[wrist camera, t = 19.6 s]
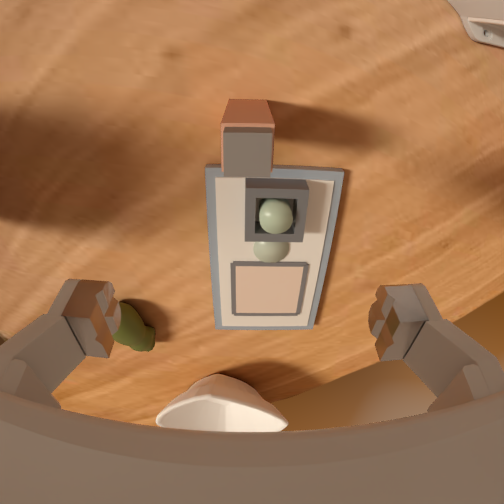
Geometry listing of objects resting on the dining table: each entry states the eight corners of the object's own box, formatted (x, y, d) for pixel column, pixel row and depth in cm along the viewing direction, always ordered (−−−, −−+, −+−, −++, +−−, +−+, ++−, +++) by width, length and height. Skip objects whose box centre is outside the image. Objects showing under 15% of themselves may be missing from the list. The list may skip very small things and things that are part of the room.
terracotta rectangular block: (266, 100, 28) (276, 129, 19) (265, 134, 30) (273, 181, 21) (229, 99, 28) (218, 128, 18) (229, 133, 30) (220, 180, 21)
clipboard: (341, 168, 32) (345, 173, 31) (311, 324, 46) (313, 331, 45) (206, 164, 32) (204, 169, 30) (215, 324, 46) (215, 331, 45)
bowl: (211, 341, 49) (207, 388, 42) (299, 384, 57) (303, 423, 50) (149, 384, 57) (142, 422, 50) (229, 417, 66) (228, 450, 59)
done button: (291, 194, 32) (294, 205, 30) (288, 221, 34) (291, 234, 32) (259, 193, 32) (260, 204, 30) (258, 221, 34) (258, 233, 32)
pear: (121, 324, 38) (162, 357, 45) (127, 291, 42) (165, 327, 49) (91, 331, 39) (133, 362, 46) (99, 300, 43) (137, 333, 50)
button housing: (305, 179, 31) (309, 189, 30) (299, 229, 35) (302, 242, 33) (245, 177, 31) (245, 188, 29) (244, 228, 35) (244, 241, 33)
